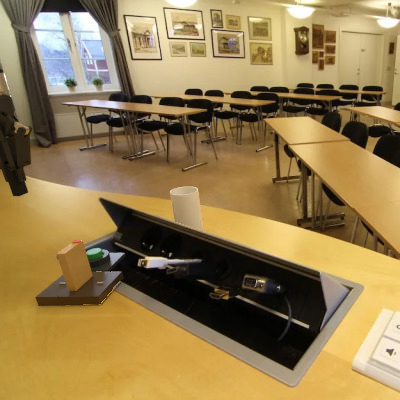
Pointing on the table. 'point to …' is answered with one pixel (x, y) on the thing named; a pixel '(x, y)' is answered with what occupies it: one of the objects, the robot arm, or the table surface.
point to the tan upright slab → (75, 265)
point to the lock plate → (80, 290)
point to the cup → (187, 206)
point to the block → (106, 261)
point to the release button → (94, 253)
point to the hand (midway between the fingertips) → (20, 194)
